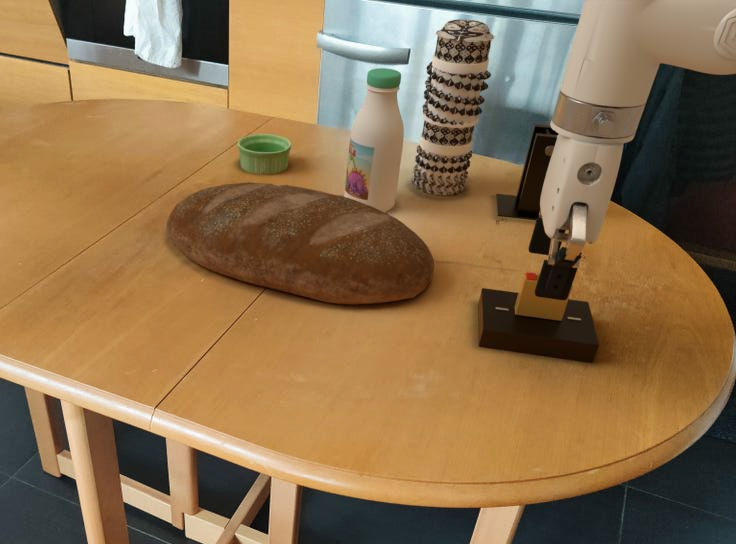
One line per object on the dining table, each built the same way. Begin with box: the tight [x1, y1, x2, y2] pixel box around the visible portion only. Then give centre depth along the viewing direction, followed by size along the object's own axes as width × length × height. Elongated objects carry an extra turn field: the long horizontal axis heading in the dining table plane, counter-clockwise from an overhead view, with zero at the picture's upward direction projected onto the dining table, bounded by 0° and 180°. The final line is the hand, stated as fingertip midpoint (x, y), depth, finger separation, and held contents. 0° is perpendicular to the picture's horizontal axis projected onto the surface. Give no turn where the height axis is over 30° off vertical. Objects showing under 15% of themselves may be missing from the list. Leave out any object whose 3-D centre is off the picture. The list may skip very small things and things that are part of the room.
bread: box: [165, 181, 436, 305], centre depth 93 cm, size 22×37×8 cm, turn 62°
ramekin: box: [237, 133, 292, 175], centre depth 120 cm, size 9×9×4 cm
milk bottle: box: [343, 67, 405, 214], centre depth 103 cm, size 8×8×20 cm
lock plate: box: [477, 287, 600, 364], centre depth 81 cm, size 12×9×3 cm
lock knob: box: [514, 271, 573, 321], centre depth 79 cm, size 5×2×5 cm, turn 76°
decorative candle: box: [411, 18, 495, 197], centre depth 107 cm, size 9×9×25 cm
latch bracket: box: [495, 123, 559, 221], centre depth 104 cm, size 10×8×13 cm
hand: (546, 274), depth 77 cm, fingers open, 9 cm apart
